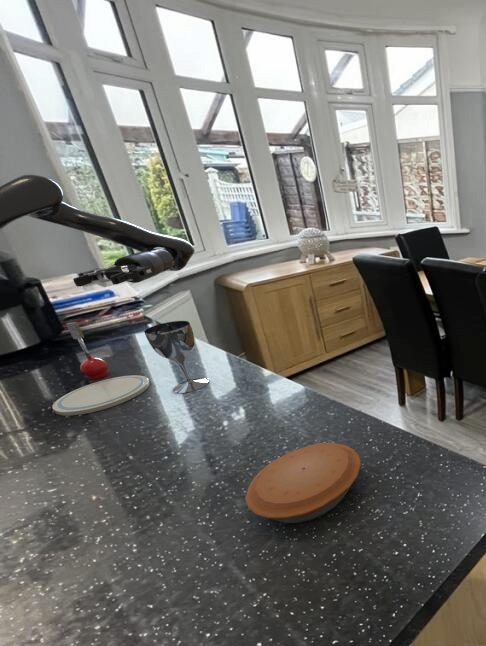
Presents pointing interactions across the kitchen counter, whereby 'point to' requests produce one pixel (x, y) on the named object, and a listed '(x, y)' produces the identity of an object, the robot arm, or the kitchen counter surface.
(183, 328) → the wine glass
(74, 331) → the red bulb with handle
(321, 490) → the pie
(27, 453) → the kitchen counter surface
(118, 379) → the plate
